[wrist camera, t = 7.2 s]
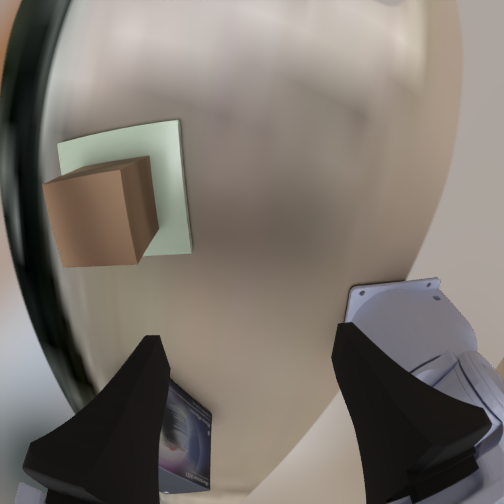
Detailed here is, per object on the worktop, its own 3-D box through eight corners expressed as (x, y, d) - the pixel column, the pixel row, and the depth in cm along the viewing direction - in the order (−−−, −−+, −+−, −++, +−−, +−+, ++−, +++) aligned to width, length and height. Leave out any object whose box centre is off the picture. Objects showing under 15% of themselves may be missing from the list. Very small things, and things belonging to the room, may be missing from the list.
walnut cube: (149, 155, 17) (120, 169, 12) (159, 228, 19) (137, 264, 14) (83, 166, 17) (42, 184, 12) (95, 234, 19) (63, 267, 14)
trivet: (180, 119, 17) (177, 119, 16) (192, 248, 21) (191, 253, 20) (63, 142, 16) (57, 143, 16) (85, 255, 20) (81, 259, 20)
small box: (216, 413, 30) (214, 492, 21) (174, 423, 31) (166, 495, 22) (155, 361, 26) (134, 455, 16) (114, 377, 27) (88, 457, 17)
